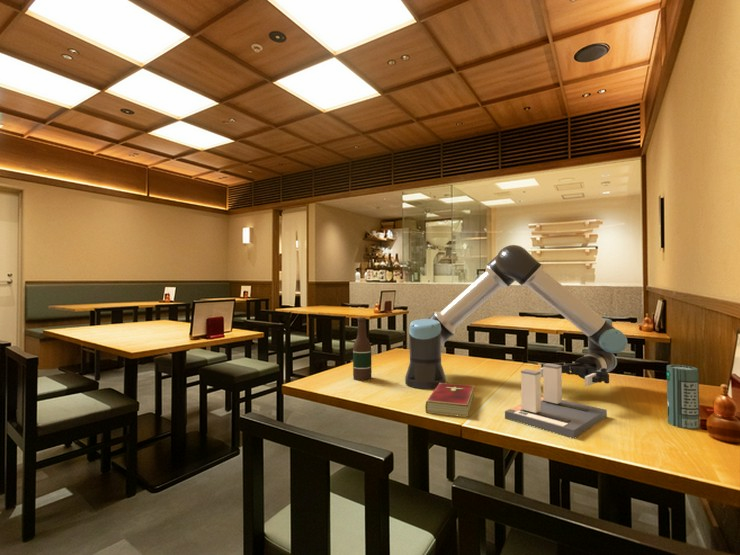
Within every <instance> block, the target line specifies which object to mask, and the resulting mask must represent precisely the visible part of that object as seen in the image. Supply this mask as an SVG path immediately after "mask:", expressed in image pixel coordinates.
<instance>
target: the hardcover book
mask: <svg viewBox="0 0 740 555" xmlns="http://www.w3.org/2000/svg"><path fill="white" fill-rule="evenodd" d="M475 388H476V387H475V385H468V384H459V383H458V384H457V383H447V382H446V383H439V384H438V386H437V387H436V388H434V390H433V391H432V393H431V394H430V396H429V397H428V398H427V400H426V401H425V407H424V408H425V413H426V414H435V413H437V415H444V414H448V415H447V416H453V415H458V416H457V417H462V416H467V417H468V415H467V414H469V411H470V408H471V406H472V402H473V400H474V390H475Z"/></svg>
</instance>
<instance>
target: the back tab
mask: <svg viewBox="0 0 740 555" xmlns="http://www.w3.org/2000/svg"><path fill="white" fill-rule="evenodd" d="M543 364H544V365H543V377H542V380H543V381H542V382H543V383H542V384H543V389H542V390H543V396H544V401H547V402H552V403H556V404H558V403H560V402H562V400H563V384H562V383H563V379H562V375H563V373H562V366H561V365H556V364H549V363H543Z"/></svg>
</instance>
